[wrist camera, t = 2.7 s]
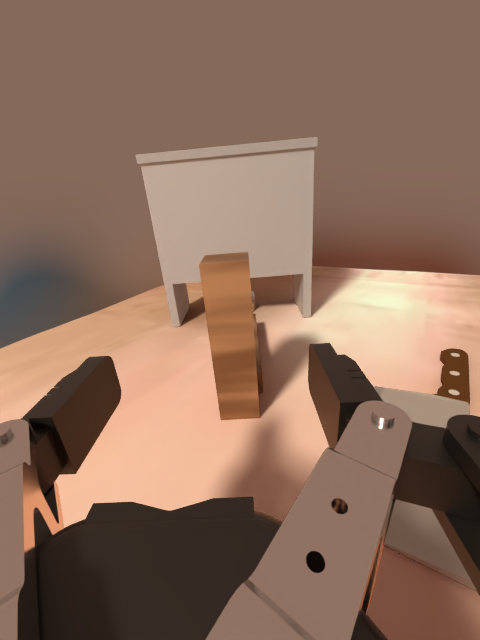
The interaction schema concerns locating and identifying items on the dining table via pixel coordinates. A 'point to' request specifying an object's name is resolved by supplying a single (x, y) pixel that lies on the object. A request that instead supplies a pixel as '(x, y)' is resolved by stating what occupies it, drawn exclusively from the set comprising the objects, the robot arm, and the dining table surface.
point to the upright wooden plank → (232, 334)
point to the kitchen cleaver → (417, 521)
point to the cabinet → (233, 212)
